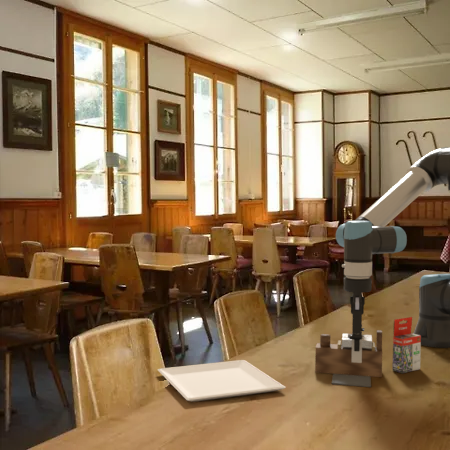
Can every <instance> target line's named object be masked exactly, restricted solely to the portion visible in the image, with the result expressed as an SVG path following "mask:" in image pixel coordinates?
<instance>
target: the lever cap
mask: <svg viewBox="0 0 450 450" xmlns="http://www.w3.org/2000/svg"><path fill="white" fill-rule="evenodd" d="M341 336H342V338H341V345H342V347H352V339H350V337H352V333H342V335H341ZM372 342H373V337H372V334H362V348H371V349H372Z"/></svg>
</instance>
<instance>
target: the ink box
mask: <svg viewBox="0 0 450 450" xmlns="http://www.w3.org/2000/svg"><path fill="white" fill-rule="evenodd" d="M403 321H405V322H403ZM400 322H403V323H400ZM412 323H413V317H412V316H409V317H403V318H397V319H394V320H393V336H392V366H391V367H392V371H393V372H397V373H398V374H399V373H400V374H405V373H408V372H409V373H410V372H413V371H419V370H421V351H422V350H421V348H422V347H421V346H422V345H421V335H416V334H413V333H412V327H413V326H412Z"/></svg>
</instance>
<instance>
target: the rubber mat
mask: <svg viewBox="0 0 450 450" xmlns="http://www.w3.org/2000/svg"><path fill="white" fill-rule="evenodd" d="M371 377H372V376H360V375H346V374H333V373H332V377H331V385H337V386H338V385H340V386H350V387H352V386H354V387H365V388H366V387H367V388H372V381H371Z"/></svg>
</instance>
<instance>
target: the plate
mask: <svg viewBox="0 0 450 450" xmlns="http://www.w3.org/2000/svg"><path fill="white" fill-rule="evenodd" d="M157 371H158V372H159V373H160V374H161V376H162V377H163V378H165V379H166V381H168V383H170V385H171V386H172V387H173V388H174V389H175V390H177V393H179V394H180V396H182V397H183V398H184V399H185V400H186V401H187V402H201V401H209V400H216V399H225V398H232V397H240V396H241V397H242V396H248V395H255V394H256V395H257V394H262V393H263V394H264V393H270V392H271V393H272V392H277V391H279V390H284V389H286V386H285V385H283V384H281V382H279V381H277V380H275V379H274V378H273V377H272V376H269V375H268V374H267V373H265V372H264V371H262V370H260V369H259V368H258V367H256V366H254V365H253V364H252V363H250V362H248V361H247V360H245V359H237V360H230V361H220V362H209V363H200V364H192V365H191V364H190V365H183V366H182V365H181V366H173V367H171V366H170V367H163V368H161V367H160V368H157Z"/></svg>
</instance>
